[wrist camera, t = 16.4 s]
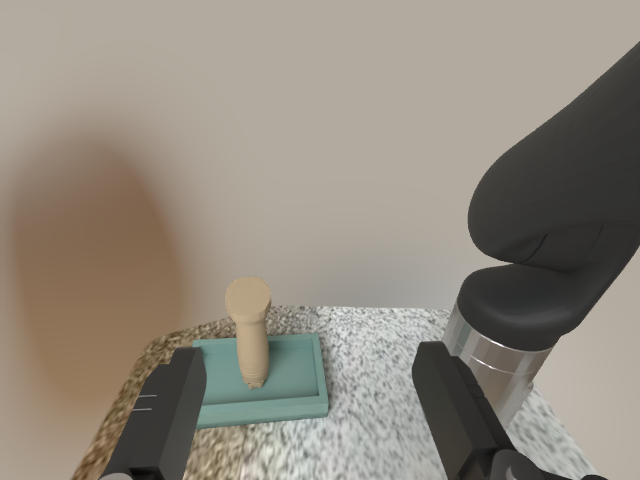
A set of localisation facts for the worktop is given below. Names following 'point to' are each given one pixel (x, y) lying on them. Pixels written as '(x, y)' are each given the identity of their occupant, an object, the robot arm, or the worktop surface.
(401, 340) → the worktop surface
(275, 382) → the tray
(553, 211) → the robot arm
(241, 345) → the handle
